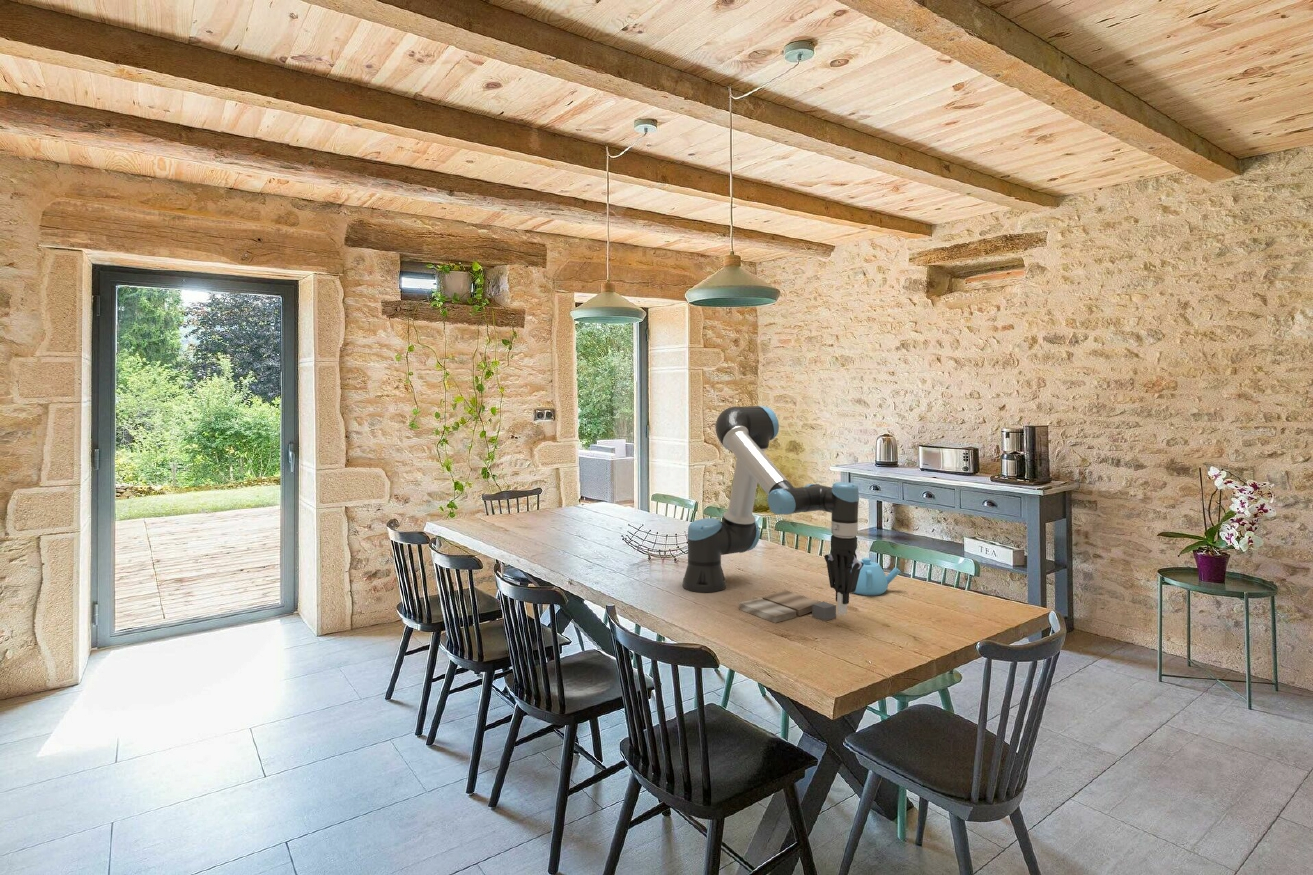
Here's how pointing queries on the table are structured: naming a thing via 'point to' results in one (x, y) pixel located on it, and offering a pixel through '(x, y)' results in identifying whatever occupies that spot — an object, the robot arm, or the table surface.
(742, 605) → the laid floor rows
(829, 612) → the block
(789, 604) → the board
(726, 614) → the table surface
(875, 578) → the teapot
